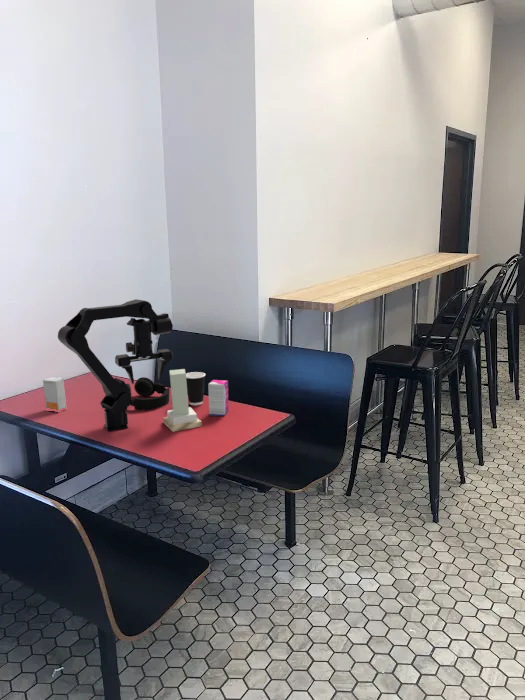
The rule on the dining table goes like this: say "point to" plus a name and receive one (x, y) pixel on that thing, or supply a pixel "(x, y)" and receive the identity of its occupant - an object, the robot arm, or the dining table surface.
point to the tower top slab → (182, 417)
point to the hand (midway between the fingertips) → (146, 381)
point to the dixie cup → (195, 387)
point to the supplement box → (218, 397)
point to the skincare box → (54, 393)
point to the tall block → (179, 392)
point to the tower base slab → (181, 425)
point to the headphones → (147, 389)
